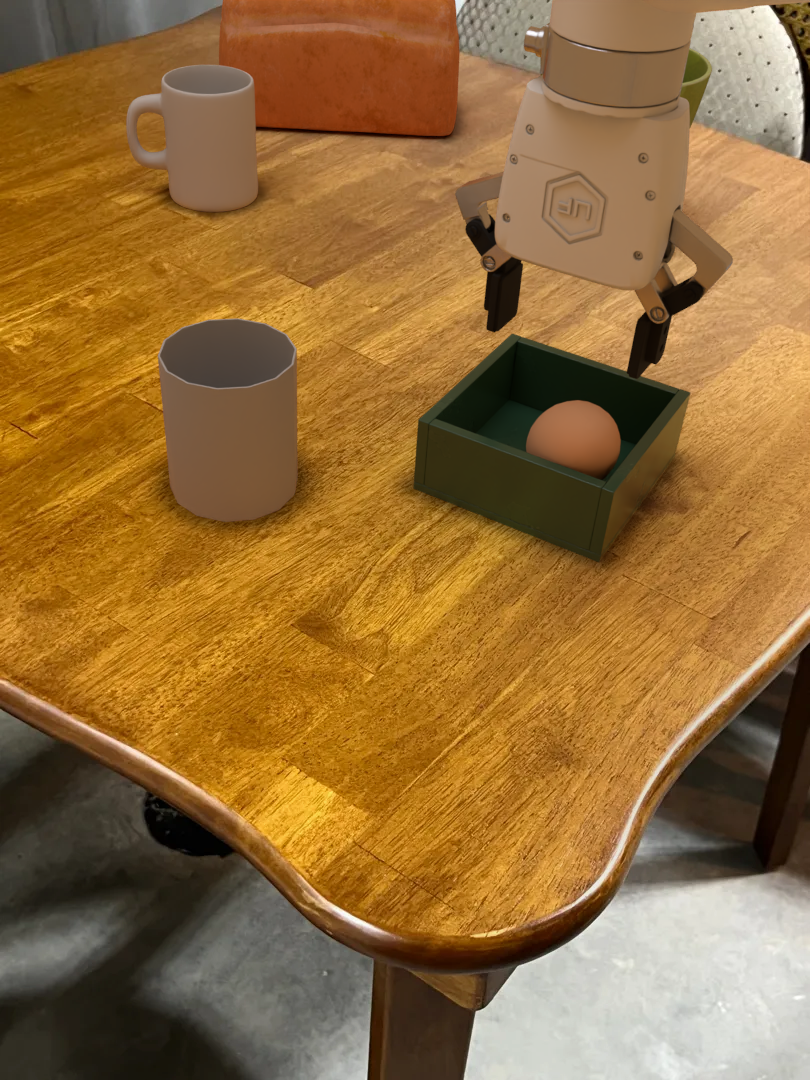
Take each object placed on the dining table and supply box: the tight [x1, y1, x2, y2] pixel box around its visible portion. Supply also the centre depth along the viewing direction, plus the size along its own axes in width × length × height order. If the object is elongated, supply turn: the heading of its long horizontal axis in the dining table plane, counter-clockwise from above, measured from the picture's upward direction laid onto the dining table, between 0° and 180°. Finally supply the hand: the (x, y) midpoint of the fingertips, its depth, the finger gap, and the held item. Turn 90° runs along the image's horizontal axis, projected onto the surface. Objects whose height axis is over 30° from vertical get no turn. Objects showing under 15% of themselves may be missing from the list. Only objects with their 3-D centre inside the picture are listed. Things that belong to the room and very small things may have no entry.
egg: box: [526, 400, 621, 480], centre depth 74 cm, size 6×6×8 cm
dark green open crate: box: [412, 333, 691, 563], centre depth 78 cm, size 14×14×6 cm
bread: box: [218, 0, 460, 137], centre depth 126 cm, size 14×26×16 cm, turn 90°
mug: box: [125, 64, 259, 213], centre depth 109 cm, size 12×8×11 cm
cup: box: [157, 317, 299, 523], centre depth 74 cm, size 8×8×10 cm
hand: (569, 345), depth 73 cm, fingers open, 9 cm apart
